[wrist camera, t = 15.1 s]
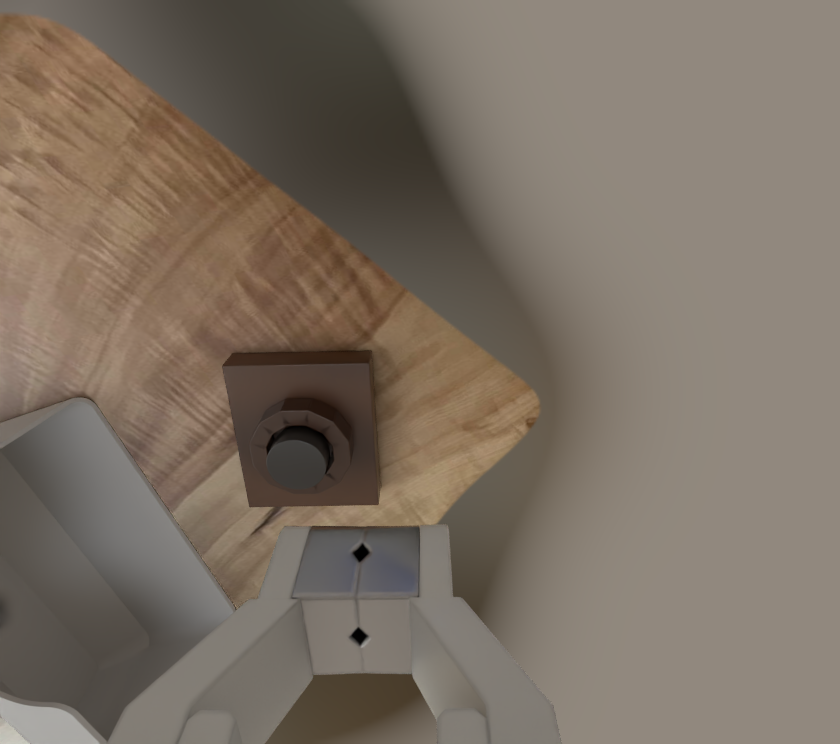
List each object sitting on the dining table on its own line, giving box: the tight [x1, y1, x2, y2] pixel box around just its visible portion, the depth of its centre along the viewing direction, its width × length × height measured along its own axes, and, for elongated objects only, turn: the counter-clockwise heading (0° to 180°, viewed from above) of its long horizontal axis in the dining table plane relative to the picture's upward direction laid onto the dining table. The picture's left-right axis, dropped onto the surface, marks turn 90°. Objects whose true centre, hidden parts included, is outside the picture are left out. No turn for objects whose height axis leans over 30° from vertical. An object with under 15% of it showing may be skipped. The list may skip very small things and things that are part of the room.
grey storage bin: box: [0, 397, 236, 744], centre depth 40 cm, size 25×16×12 cm, turn 19°
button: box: [266, 427, 330, 489], centre depth 37 cm, size 4×4×2 cm
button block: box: [222, 351, 380, 507], centre depth 39 cm, size 12×10×4 cm
